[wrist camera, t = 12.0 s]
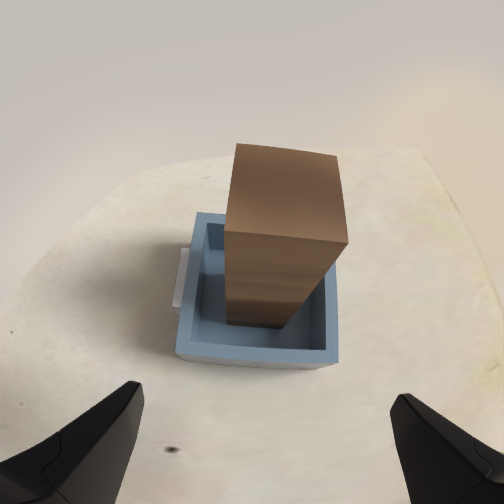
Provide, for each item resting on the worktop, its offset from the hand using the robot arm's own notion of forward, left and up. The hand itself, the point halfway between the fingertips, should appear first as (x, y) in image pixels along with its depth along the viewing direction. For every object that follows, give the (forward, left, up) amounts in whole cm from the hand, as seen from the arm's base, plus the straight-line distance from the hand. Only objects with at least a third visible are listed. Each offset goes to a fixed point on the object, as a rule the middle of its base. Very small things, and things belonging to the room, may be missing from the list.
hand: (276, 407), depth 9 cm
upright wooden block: (+7, +1, -11) cm, 13 cm away
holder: (+7, +1, -12) cm, 14 cm away
